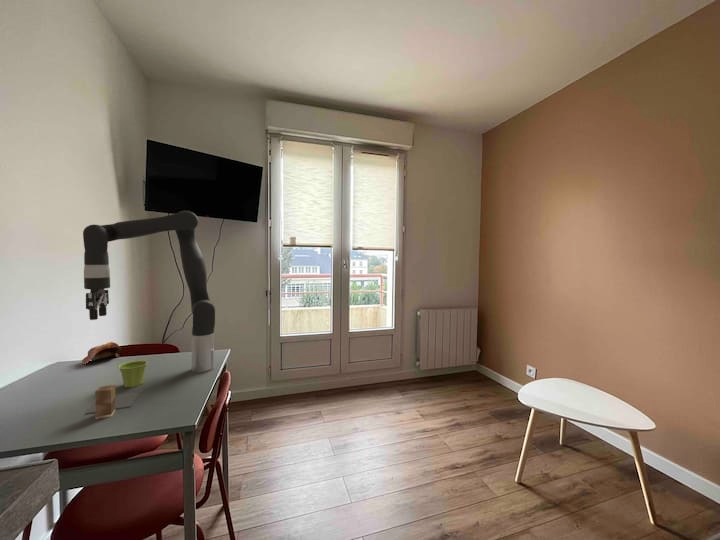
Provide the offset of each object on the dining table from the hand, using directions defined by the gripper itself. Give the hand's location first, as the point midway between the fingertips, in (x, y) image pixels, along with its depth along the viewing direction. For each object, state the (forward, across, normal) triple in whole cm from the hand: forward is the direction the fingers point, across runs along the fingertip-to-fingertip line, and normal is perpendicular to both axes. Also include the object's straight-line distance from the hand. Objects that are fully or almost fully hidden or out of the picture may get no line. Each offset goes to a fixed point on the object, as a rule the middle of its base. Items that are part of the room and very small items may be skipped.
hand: (98, 317), depth 112 cm
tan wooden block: (+29, -24, -9) cm, 38 cm away
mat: (+29, -14, -8) cm, 34 cm away
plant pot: (+30, +2, -10) cm, 31 cm away
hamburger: (+29, +40, +12) cm, 51 cm away
